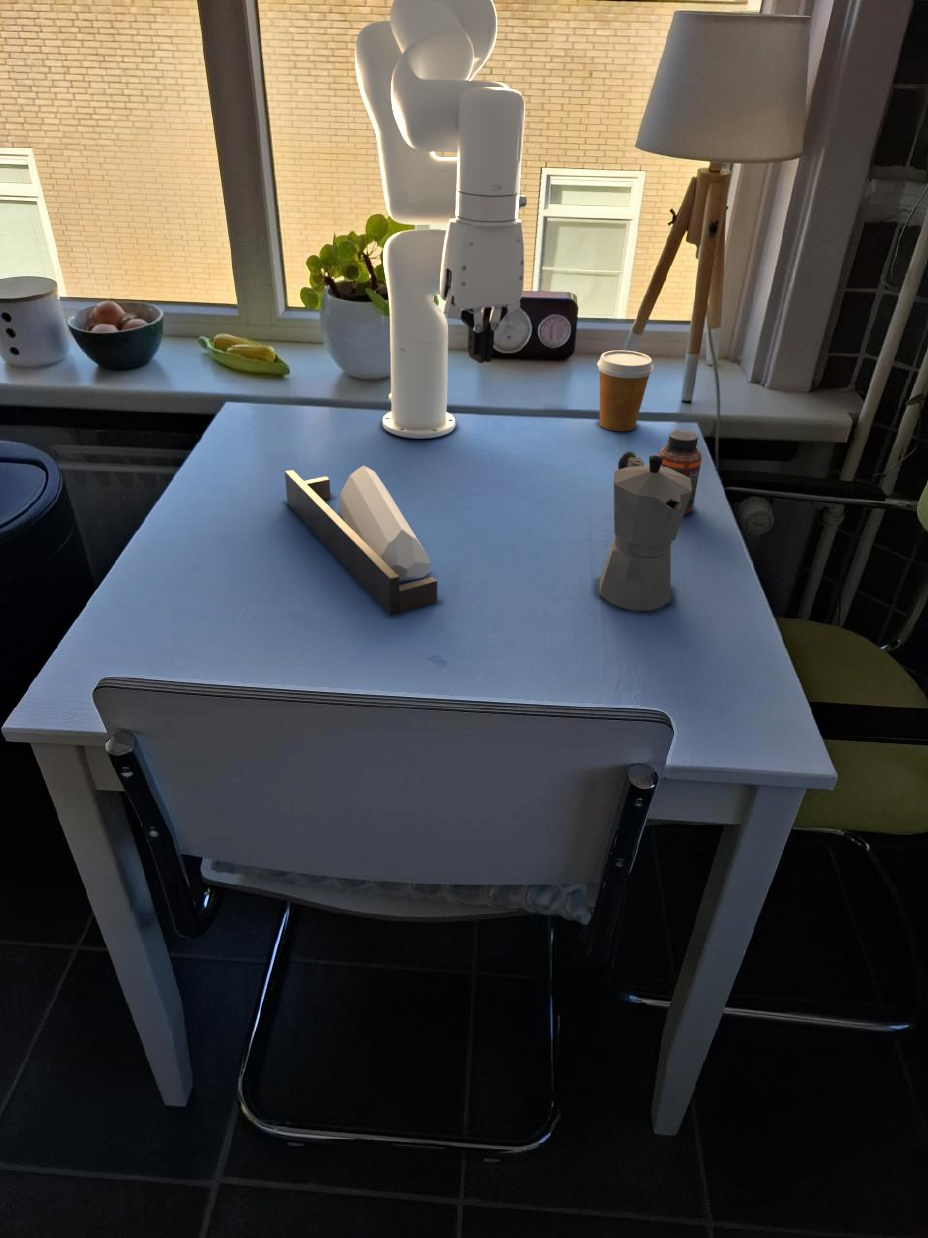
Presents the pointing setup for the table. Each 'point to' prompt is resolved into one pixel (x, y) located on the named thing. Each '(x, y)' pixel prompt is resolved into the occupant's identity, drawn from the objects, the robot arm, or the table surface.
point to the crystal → (382, 525)
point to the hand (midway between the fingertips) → (479, 358)
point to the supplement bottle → (683, 458)
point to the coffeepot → (643, 533)
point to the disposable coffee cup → (622, 388)
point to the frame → (355, 548)
